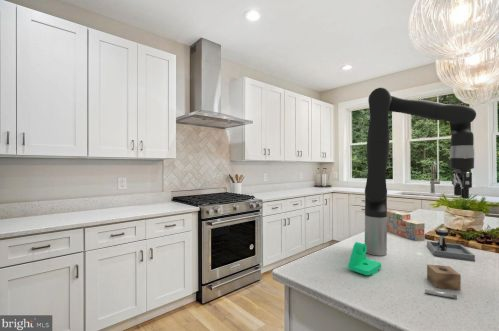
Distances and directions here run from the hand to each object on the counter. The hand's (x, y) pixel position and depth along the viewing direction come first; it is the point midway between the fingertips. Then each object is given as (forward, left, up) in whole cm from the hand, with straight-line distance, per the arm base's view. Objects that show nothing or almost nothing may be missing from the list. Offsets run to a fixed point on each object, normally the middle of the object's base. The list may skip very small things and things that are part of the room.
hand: (461, 196), depth 102 cm
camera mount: (-35, -21, -28) cm, 50 cm away
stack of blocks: (-15, +40, -28) cm, 51 cm away
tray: (0, +15, -28) cm, 32 cm away
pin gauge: (-14, -32, -28) cm, 45 cm away
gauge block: (-11, -22, -28) cm, 37 cm away
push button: (-3, +15, -28) cm, 31 cm away
